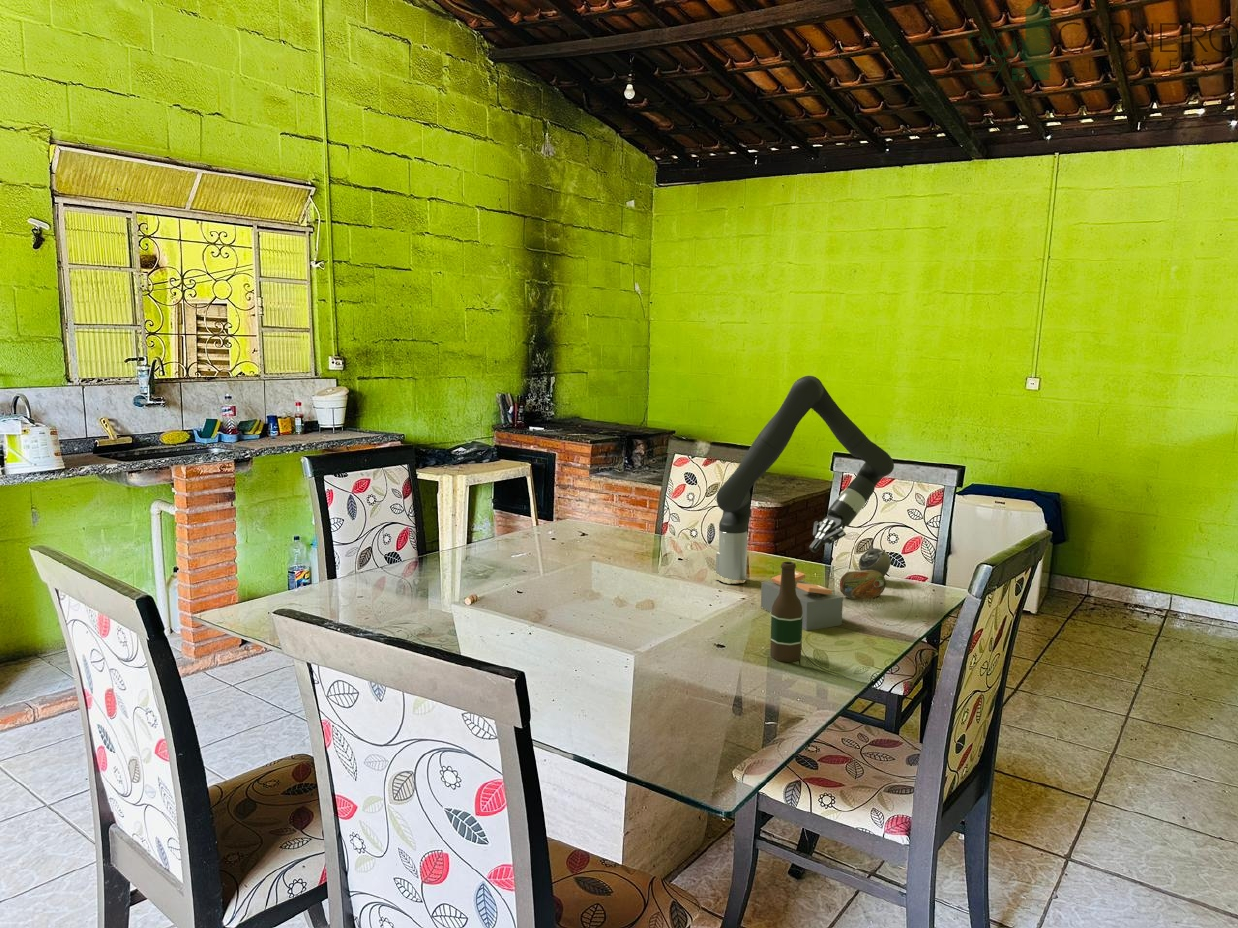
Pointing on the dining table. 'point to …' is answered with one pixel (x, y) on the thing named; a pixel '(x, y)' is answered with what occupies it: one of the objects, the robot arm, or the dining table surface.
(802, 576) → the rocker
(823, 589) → the orange flat board
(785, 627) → the beer bottle
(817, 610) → the switch box
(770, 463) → the robot arm
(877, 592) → the tin
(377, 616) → the dining table surface
